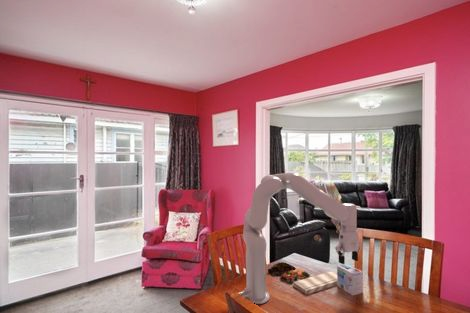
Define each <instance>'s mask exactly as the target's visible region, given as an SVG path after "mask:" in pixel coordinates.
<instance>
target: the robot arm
mask: <svg viewBox="0 0 470 313" xmlns="http://www.w3.org/2000/svg"><path fill="white" fill-rule="evenodd" d="M286 189H287V190H288V189H290V190H291V191H292V192H293V193H295V194H297V195H298V196H299V197H301V198H302V199H303V200H305V201H307V203H309V204H311V205H313V206H315V207H317V208H319V209H321V210H323V212H324V214H325V215H326V216H327V217H329V218H331V219H333V220H336V221H338V222H340V229H339V230H340V231H339V234H338V244H337V245H336V246H335V247H334V248H335V251H336V252H335V253H337V255H338V263H340V265H344V264H346V263H345V259H346V258H345V254H346V253H351V259H352V260H353V261H354V262H359V253H360V251H359V250H360V249H361V245H362V244H361V243H360V240H359V233H358V230H357V228H358V227H357V223H358V222H357V217H358V216H357V210H358V208H357V206H356V204H354V203H351V202H350V203H346V202H344V203H341V202H340V201H338V200H337V199H336V198H334V197H333V196H331V195H329V194H327V193H326V192H324V191H323V190H321V189H320V188H318V187H317V186H316V185H315V184H313V183H311V182H310V181H309V180H308V179H306V178H305V177H303V176H302V175H300V174H299V173H295V172H283V173H276V174H268V175H267V174H266V175H264V176H263V178H261V180H260V184H258V185H257V186H256V187H255V189H254V190H253V193H252V198H251V203H250V207H249V208H248V209H247V211H246V212H245V215H244V220H243V221H244V222H243V229H242V230H243V231H242V238H243V241H244V244H245V246H246V248H245V249H246V250H245V251H246V252H245V253H246V254H245V265H246V266H245V267H246V268H245V269H246V272H245V273H246V274H245V275H246V278H245V280H246V281H245V282H246V287H244V289H243V290H242V291H239V292H237V293H238V294H240V295H241V297H242V296H243V297H245V298H246V299H248V300H250V301H252V302H253V303H255V304H254V305H261V304H265V303H267V302H268V301H269V300H270V298H271V297H270V292H268V291H267V271H266V269H267V266H266V265H267V264H266V260H267V258H266V257H267V256H266V255H267V240H266V237H265V235H263V234H262V230H264V228H265V227H266V226H267V222H268V215H269V214H268V213H269V205H270V200H271V198H272V197H273V196H274V195H275V194H277V193H279V192H281V190H286ZM243 297H242V298H243Z"/></svg>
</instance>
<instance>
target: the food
mask: <svg viewBox="0 0 470 313" xmlns="http://www.w3.org/2000/svg"><path fill="white" fill-rule="evenodd" d="M293 269H295V270H293ZM268 273H269V274H268ZM267 274H268V275H270V276H272V275H273V277H279V280H280V279H281V280H283V281H285V282H287V283H289V285H291V284H293V282H296V281H299V280H303V279H306V278H309V276H310V275H311V274H309V273H308V272H307V271H305V270H303V269H300V268H296V267H295V266H294V265H291V264H290V263H287V262H283V261H281V262H277V263H274V264H273V265H272V266H271V267H270V268H268V269H267V272H266V275H267Z"/></svg>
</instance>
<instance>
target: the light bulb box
mask: <svg viewBox="0 0 470 313" xmlns="http://www.w3.org/2000/svg"><path fill="white" fill-rule="evenodd" d="M336 270H337V272H336V273H337V285H336V286H337V287H338V288H340V289H342V290H343V291H344V292H346V293H348V294H349V295H351V296H356V295H360V294H363V292H364V290H363V288H364V287H363V284H364V283H363V270H360V269H358V268H356V267H354V266H352V265H350V264H348V263H345V264H340V265H337V266H336Z"/></svg>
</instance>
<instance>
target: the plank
mask: <svg viewBox="0 0 470 313" xmlns="http://www.w3.org/2000/svg"><path fill="white" fill-rule="evenodd" d="M292 284H293V287H295V288H296V289H297V290H299V291H300V292H301V293H304V295H310V294H313V293H316V292H319V291H323V290H325V289H329V288H331V287H332V288H333V287H335V286H337V272H334V271H333V270H331V271H327V272H324V273H320V274H316V275H313V276H310V277H307V278H305V279H303V280H302V279H298V280H297V281H295V282H293V283H292Z"/></svg>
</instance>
